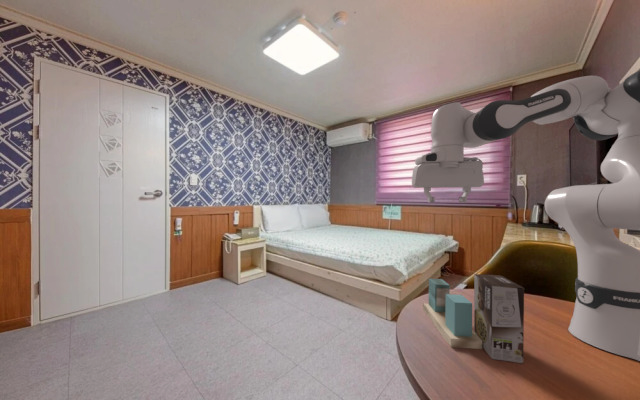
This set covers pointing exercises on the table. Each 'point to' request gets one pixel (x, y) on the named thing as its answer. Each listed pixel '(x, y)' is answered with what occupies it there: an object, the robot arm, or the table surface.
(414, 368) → the table surface
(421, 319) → the table surface
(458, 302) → the teal block white top
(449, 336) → the rail
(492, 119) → the robot arm
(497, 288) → the coffee box
